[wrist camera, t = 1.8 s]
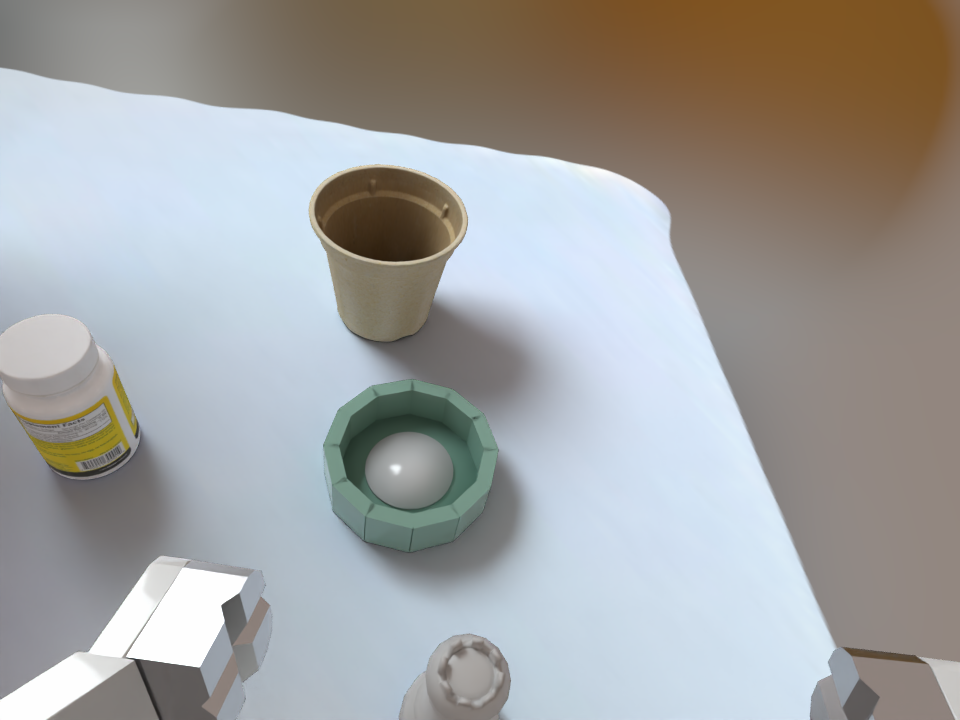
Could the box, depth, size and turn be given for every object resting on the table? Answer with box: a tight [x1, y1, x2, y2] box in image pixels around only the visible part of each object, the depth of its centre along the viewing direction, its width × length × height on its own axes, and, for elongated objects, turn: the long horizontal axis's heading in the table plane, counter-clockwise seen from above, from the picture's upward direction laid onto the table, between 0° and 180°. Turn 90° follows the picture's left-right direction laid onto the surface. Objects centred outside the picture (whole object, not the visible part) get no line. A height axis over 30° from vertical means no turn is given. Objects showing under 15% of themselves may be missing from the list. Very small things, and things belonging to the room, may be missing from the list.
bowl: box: [323, 379, 499, 552], centre depth 38 cm, size 9×9×3 cm
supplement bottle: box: [0, 314, 140, 480], centre depth 34 cm, size 5×5×8 cm
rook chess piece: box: [399, 634, 511, 720], centre depth 28 cm, size 4×4×8 cm
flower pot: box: [309, 164, 468, 342], centre depth 43 cm, size 9×9×9 cm
